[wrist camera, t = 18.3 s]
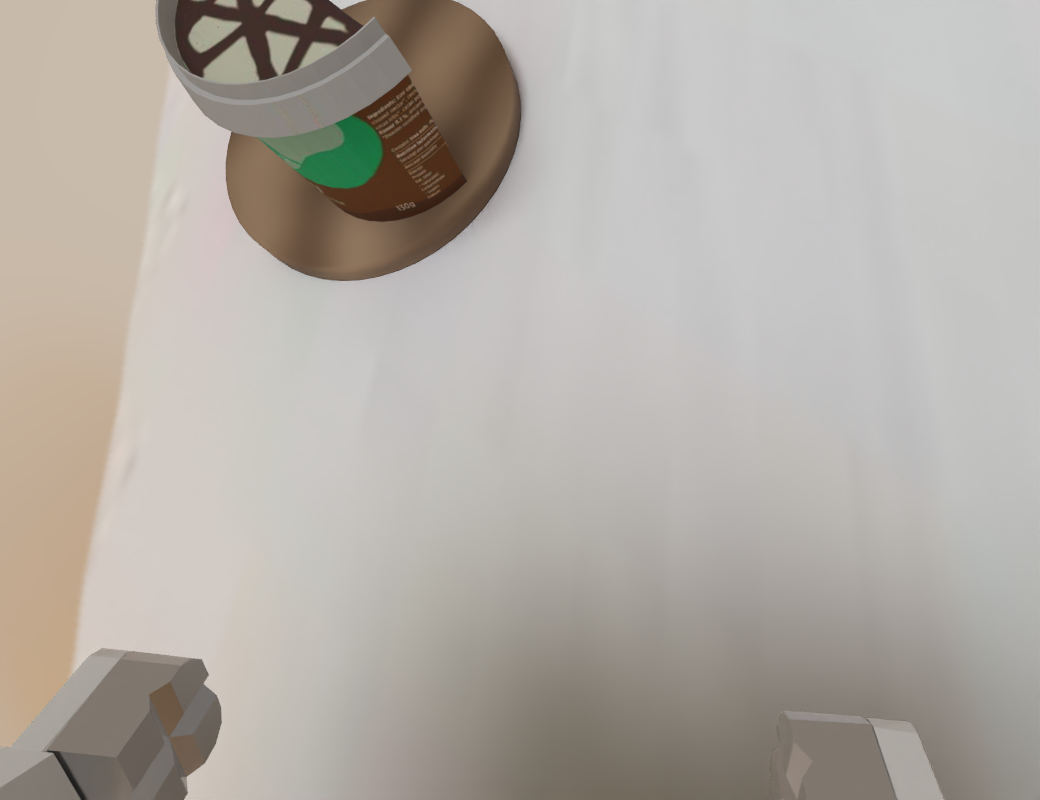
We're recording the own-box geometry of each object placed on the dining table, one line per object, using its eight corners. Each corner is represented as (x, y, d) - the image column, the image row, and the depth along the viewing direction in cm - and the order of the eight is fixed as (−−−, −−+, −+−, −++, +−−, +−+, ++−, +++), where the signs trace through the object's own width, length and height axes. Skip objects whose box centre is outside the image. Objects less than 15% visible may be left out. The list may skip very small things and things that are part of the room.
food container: (256, 161, 36) (93, 7, 27) (337, 77, 36) (202, -105, 27) (393, 295, 31) (251, 161, 22) (488, 197, 31) (384, 23, 22)
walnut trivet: (558, 18, 35) (551, -8, 34) (464, 303, 32) (451, 287, 30) (306, 16, 41) (289, -6, 39) (203, 258, 37) (181, 243, 36)
